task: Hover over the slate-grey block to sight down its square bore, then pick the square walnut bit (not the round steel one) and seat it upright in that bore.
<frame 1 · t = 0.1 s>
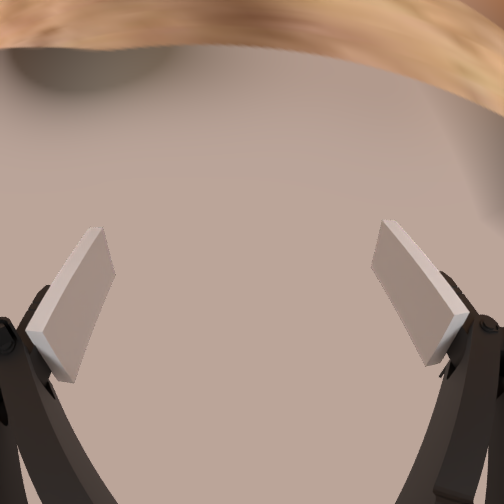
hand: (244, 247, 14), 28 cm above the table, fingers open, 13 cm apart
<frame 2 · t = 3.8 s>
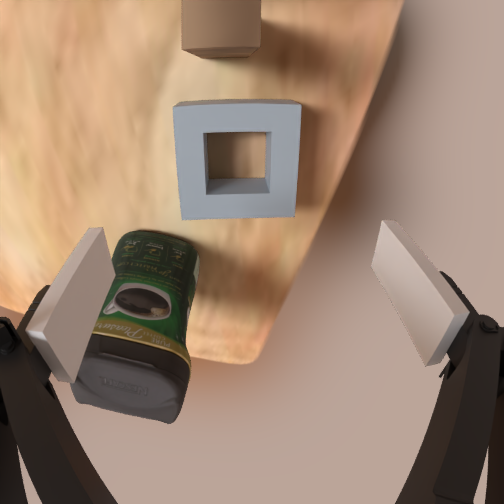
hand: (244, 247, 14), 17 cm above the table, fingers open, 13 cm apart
coffee jar: (158, 259, 34), on the table
bore block: (236, 151, 28), on the table
square bit: (224, 36, 22), on the table
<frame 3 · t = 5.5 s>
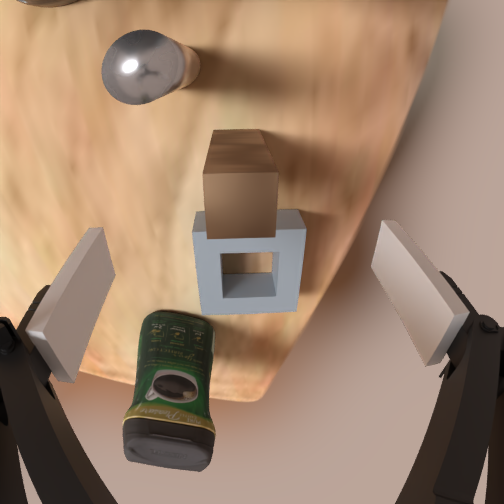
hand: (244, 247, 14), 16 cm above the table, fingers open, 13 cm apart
coffee jar: (178, 330, 40), on the table
round bit: (176, 66, 23), on the table
bore block: (247, 253, 33), on the table
square bit: (236, 150, 27), on the table
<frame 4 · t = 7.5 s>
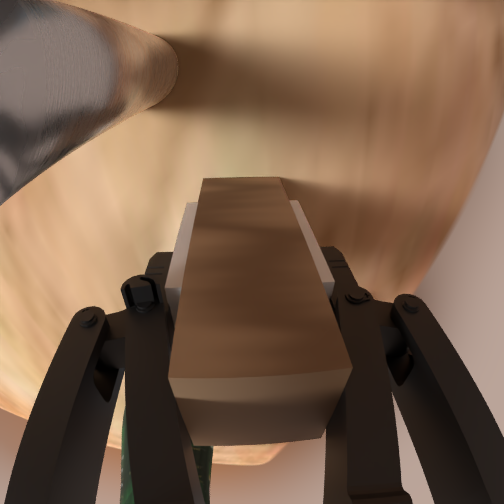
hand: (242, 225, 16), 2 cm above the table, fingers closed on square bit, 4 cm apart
coffee jar: (170, 412, 30), on the table
round bit: (139, 71, 13), on the table
square bit: (241, 211, 17), on the table, touching gripper
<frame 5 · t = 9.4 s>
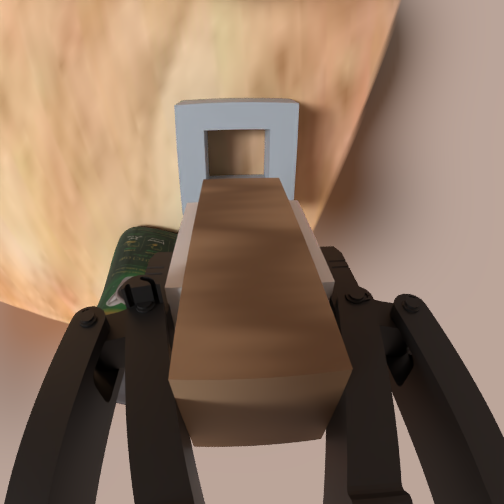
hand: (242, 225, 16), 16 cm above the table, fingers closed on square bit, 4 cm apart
coffee jar: (159, 255, 35), on the table
bore block: (236, 148, 29), on the table
square bit: (241, 212, 17), point 14 cm above the table, touching gripper
when the fingers open (5 cm above the table, at t = 11.5 s): square bit drops 3 cm, resting in bore block.
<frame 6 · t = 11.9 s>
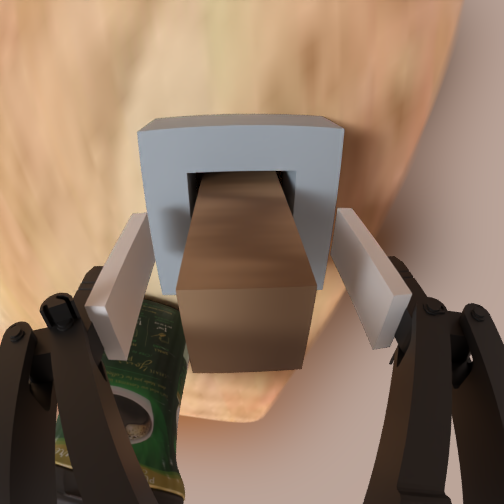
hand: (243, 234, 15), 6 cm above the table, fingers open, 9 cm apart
coffee jar: (140, 324, 26), on the table
bore block: (239, 191, 20), on the table
square bit: (239, 191, 20), resting in bore block
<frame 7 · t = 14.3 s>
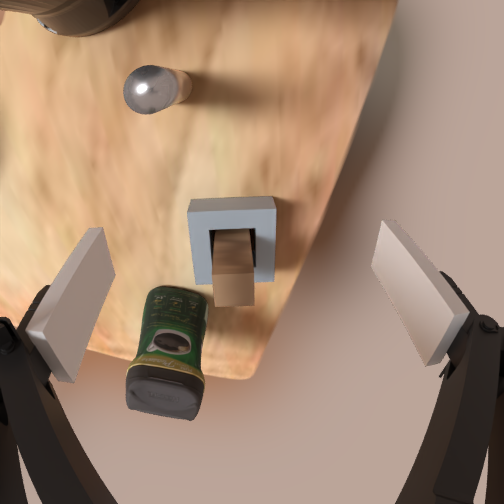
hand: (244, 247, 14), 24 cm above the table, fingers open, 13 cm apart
coffee jar: (177, 305, 47), on the table
round bit: (174, 86, 31), on the table
bore block: (233, 233, 41), on the table
square bit: (232, 233, 41), resting in bore block
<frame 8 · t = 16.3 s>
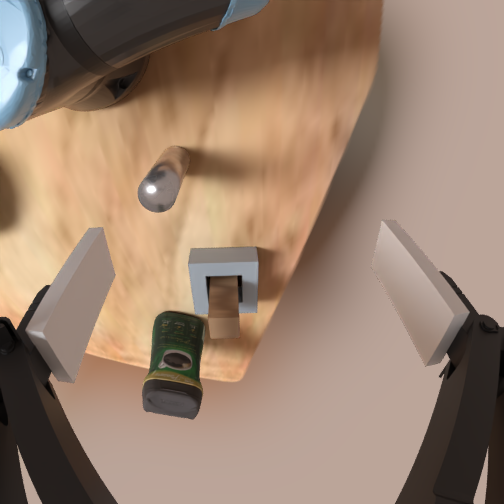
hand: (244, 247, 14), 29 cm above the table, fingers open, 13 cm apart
coffee jar: (179, 325, 57), on the table
round bit: (175, 160, 40), on the table
bore block: (224, 274, 51), on the table
square bit: (224, 274, 51), resting in bore block
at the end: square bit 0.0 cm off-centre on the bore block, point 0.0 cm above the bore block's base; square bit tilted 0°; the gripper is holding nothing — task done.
